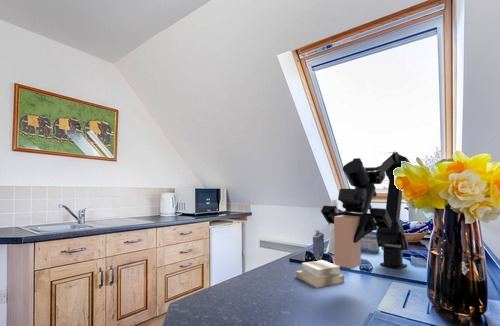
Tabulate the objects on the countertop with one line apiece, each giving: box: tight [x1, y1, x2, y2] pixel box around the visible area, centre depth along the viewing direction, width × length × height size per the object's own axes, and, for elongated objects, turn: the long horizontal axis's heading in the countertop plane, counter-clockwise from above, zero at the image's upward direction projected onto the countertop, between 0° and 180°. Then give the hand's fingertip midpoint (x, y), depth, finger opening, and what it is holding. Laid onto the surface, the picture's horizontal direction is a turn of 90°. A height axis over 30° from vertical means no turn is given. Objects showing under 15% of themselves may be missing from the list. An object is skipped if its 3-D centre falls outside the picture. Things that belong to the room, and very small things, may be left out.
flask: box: [312, 229, 325, 260], centre depth 112 cm, size 9×3×11 cm, turn 151°
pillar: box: [333, 215, 362, 270], centre depth 78 cm, size 5×5×13 cm
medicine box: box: [360, 230, 380, 254], centre depth 122 cm, size 8×4×9 cm, turn 62°
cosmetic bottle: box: [327, 199, 339, 253], centre depth 120 cm, size 6×6×22 cm
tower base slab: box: [295, 269, 345, 288], centre depth 87 cm, size 10×10×2 cm
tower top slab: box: [301, 259, 341, 279], centre depth 87 cm, size 8×8×2 cm
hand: (344, 240), depth 77 cm, fingers closed on pillar, 5 cm apart
